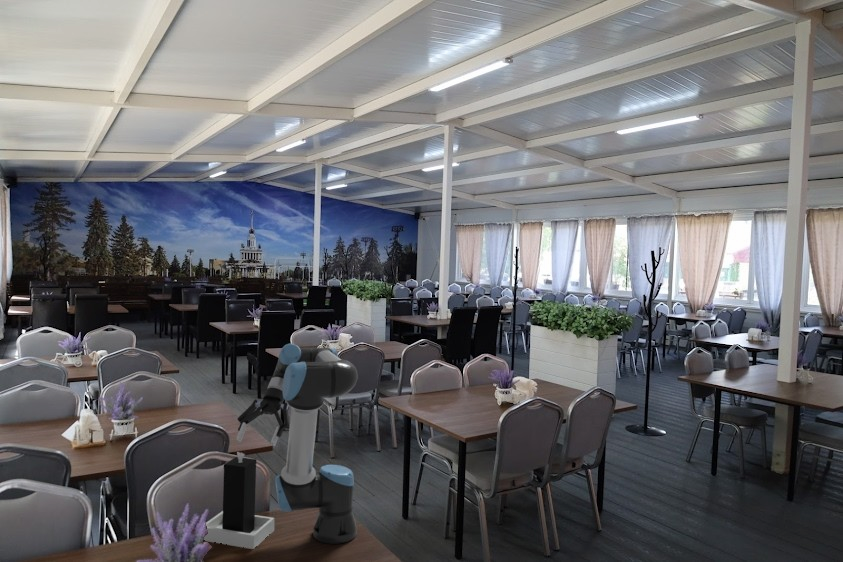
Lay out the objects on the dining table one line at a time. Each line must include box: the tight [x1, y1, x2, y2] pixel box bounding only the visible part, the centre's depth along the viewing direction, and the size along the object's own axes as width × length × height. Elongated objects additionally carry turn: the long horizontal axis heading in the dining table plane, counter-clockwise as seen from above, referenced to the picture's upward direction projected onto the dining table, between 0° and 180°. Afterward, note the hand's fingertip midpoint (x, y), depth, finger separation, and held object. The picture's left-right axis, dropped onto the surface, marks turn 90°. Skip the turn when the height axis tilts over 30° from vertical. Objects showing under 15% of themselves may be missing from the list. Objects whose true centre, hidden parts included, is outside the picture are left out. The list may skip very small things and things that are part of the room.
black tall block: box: [222, 451, 257, 533], centre depth 202 cm, size 8×8×28 cm
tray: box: [204, 510, 276, 550], centre depth 203 cm, size 20×14×4 cm
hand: (255, 442), depth 212 cm, fingers open, 13 cm apart
